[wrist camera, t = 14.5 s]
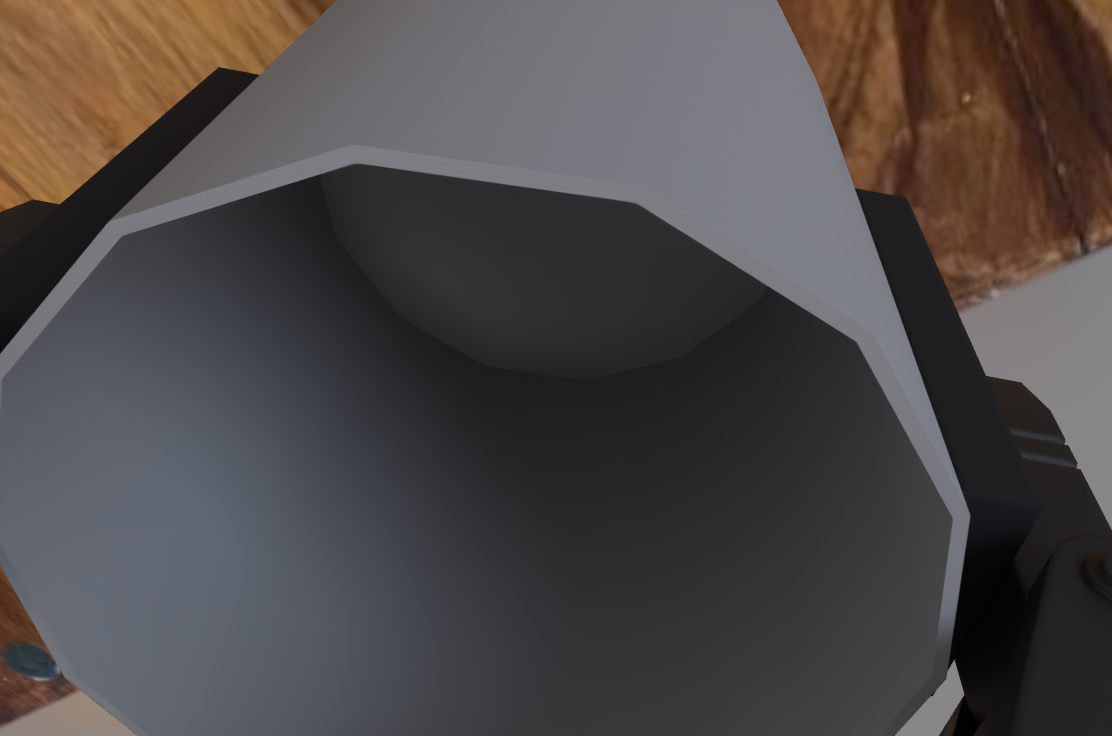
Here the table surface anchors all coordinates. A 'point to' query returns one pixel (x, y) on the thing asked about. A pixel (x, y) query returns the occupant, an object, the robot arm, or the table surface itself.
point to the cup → (490, 400)
